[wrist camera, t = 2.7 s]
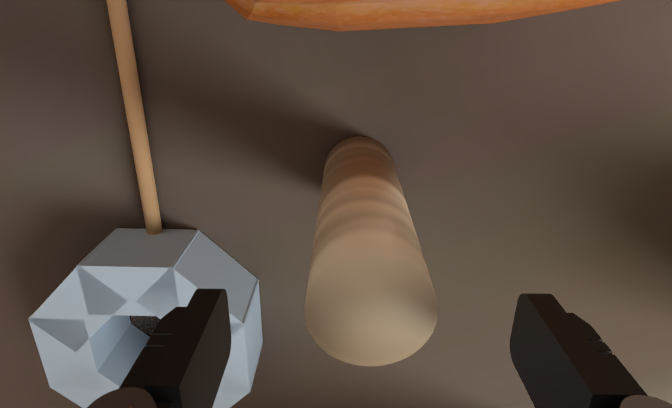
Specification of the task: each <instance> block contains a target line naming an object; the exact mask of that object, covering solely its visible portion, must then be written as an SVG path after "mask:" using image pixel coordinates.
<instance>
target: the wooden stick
mask: <svg viewBox="0 0 672 408" xmlns="http://www.w3.org/2000/svg"><path fill="white" fill-rule="evenodd" d="M106 1H107V6H108V12H109V18H110V24H111V29H112V35H113V41H114V47H115V52H116V58H117V64H118V70H119V75H120V81H121V87H122V93H123V98H124V104H125V110H126V116H127V121H128V127H129V133H130V139H131V144H132V150H133V156H134V162H135V167H136V173H137V179H138V185H139V190H140V196H141V202H142V208H143V213H144V219H145V225H146V231H147V234H148V235H158V234H160V233H162V223H161V217H160V211H159V204H158V198H157V192H156V186H155V179H154V173H153V167H152V160H151V154H150V148H149V141H148V135H147V129H146V122H145V116H144V110H143V103H142V97H141V91H140V84H139V78H138V72H137V65H136V59H135V53H134V46H133V40H132V34H131V27H130V21H129V15H128V8H127V2H126V0H106Z"/></svg>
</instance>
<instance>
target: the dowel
mask: <svg viewBox="0 0 672 408" xmlns="http://www.w3.org/2000/svg"><path fill="white" fill-rule="evenodd" d="M304 314H305V322H306V325H307V328H308V331H309V333H310V335H311V336H312V338H313V340H314V341H315V342H316V343H317V345H318V346H319V347H320V348H322V349H323V350H324V351H325V352H326V353H328V354H329V355H331V356H333V357H334V358H336V359H338V360H341V361H343V362H346V363H350V364H354V365H359V366H381V365H387V364H391V363H395V362H397V361H400V360H403V359H405V358H407V357H409V356H410V355H412V354H413V353H415V352H416V351H417V350H419V349H420V348H421V347H422V346H423V345H424V344H425V343H426V342H427V340H428V339H429V338H430V336H431V335H432V333H433V331H434V329H435V326H436V323H437V319H438V302H437V298H436V295H435V291H434V288H433V285H432V282H431V279H430V276H429V273H428V269H427V266H426V263H425V260H424V257H423V254H422V251H421V247H420V244H419V241H418V238H417V235H416V232H415V229H414V225H413V222H412V219H411V216H410V213H409V210H408V207H407V203H406V200H405V197H404V194H403V191H402V188H401V185H400V181H399V178H398V175H397V172H396V169H395V166H394V163H393V159H392V157H391V155H390V153H389V151H388V150H387V149H386V147H385V146H383V145H382V144H381V143H380V142H378V141H376V140H374V139H372V138H368V137H362V136H357V137H351V138H347V139H345V140H343V141H341V142H339V143H338V144H337V145H336V146H334V147H333V149H332V150H331V151H330V153H329V154H328V156H327V158H326V161H325V166H324V173H323V180H322V188H321V195H320V202H319V209H318V216H317V223H316V230H315V237H314V244H313V251H312V258H311V266H310V273H309V280H308V287H307V294H306V301H305V311H304Z"/></svg>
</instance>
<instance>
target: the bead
mask: <svg viewBox="0 0 672 408" xmlns="http://www.w3.org/2000/svg"><path fill="white" fill-rule="evenodd" d="M198 288H202V289H225V290H226V292H227V297H228V307H229V317H230V327H231V350H230V356H229V359H228V362H227V365H226V368H225V371H224V374H223V377H222V380H221V383H220V386H219V389H218V392H217V395H216V398H215V401H214V404H213V407H212V408H230V407H231V406H233V405H234V404H235V403H237V402H238V401H239V400H240V399H242V398H243V397H244V396H245V395H247V394H248V393H250V392H251V388H252V384H253V380H254V376H255V372H256V368H257V364H258V360H259V356H260V352H261V348H262V344H263V339H262V324H261V309H260V294H259V279H257V278H256V277H254V276H253V275H252V274H251V273H250V272H248V271H247V270H246V269H245V268H244V267H242V266H241V265H240V264H239V263H238V262H236V261H235V260H234V259H233V258H232V257H230V256H229V255H228V254H227V253H226V252H224V251H223V250H222V249H221V248H219V247H218V246H217V245H216V244H215V243H213V242H212V241H211V240H210V239H209V238H207V237H206V236H205V235H204V234H203V233H201V232H200V231H199V230H198V229H197V230H186V229H162V233H160V234H158V235H148V234H147V231H146V229H135V228H116V229H115V230H114V231H113V232H112V233H111V234H110V235H109V236H107V237H106V238H105V239H104V240H103V241H102V242H101V243H100V244H99V245H98V246H97V247H96V248H95V249H94V250H92V251H91V252H90V253H89V254H88V255H87V256H86V257H85V258H84V259H83V260H82V261H81V262H80V263H79V264H77V265H76V268H75V269H74V270H73V271H72V272H71V273H70V274H69V276H68V277H67V278H66V279H65V280H64V281H63V282H62V283H61V284H60V285H59V286H58V288H57V289H56V290H55V291H54V292H53V293H52V294H51V295H50V296H49V297H48V298H47V300H46V301H45V302H44V303H43V304H42V305H41V306H40V307H39V308H38V309H37V310H36V311H35V312H34V313H33V314H32V315H31V316H30V317H29V318H28V320H29V323H30V326H31V329H32V332H33V335H34V338H35V342H36V345H37V348H38V351H39V354H40V357H41V360H42V364H43V367H44V370H45V373H46V376H47V379H48V383H49V387H50V388H52V389H54V390H55V391H57V392H58V393H60V394H62V395H63V396H65V397H66V398H68V399H69V400H71V401H73V402H74V403H76V404H77V405H79V406H80V407H82V408H87V407H88V406H89V405H90V404H91V403H92V402H94V401H95V400H96V399H98V398H99V397H101V396H102V395H104V394H106V393H108V392H111V391H113V390H116V389H119V387H120V386H121V384H122V382H123V381H124V379H125V378H126V376H127V374H128V373H129V371H130V369H131V368H132V366H133V364H134V363H135V361H136V359H137V358H138V356H139V354H140V353H141V351H142V349H143V348H144V347H146V343H147V341H148V340H149V338H150V337H149V336H148V335H146V334H145V333H144V332H142V331H141V330H139V329H138V328H137V327H135V326H134V325H132V324H131V322H130V317H129V316H157V317H158V318H159V319H161V318H163V317H164V316H165V315H166V314H168V313H169V312H170V311H171V310H173V309H174V308H175V307H187V305H188V303H189V302H190V300H191V298H192V296H193V294H194V292H195V291H196V289H198Z"/></svg>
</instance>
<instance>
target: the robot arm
mask: <svg viewBox="0 0 672 408" xmlns="http://www.w3.org/2000/svg"><path fill="white" fill-rule="evenodd" d="M230 350H231V327H230V317H229V307H228V297H227V292H226V290H225V289H202V288H198V289H196V291H195V292H194V294H193V296H192V298H191V300H190V302H189V303H188V305H187V307H175V308H174V309H173V310H171V311H170V312H169V313H168V314H166V315H165V316H164V317H163V318H161V320H160V321H159V323H158V325H157V326H156V328H155V330H154V331H153V335H151V336H150V338H149V340H148V341H147V343H146V347H144V348H143V349H142V351H141V353H140V354H139V356H138V358H137V359H136V361H135V363H134V364H133V366H132V368H131V369H130V371H129V373H128V374H127V376H126V378H125V379H124V381H123V382H122V384H121V386H120V387H119V389H116V390H113V391H111V392H108V393H106V394H104V395H102V396H101V397H99V398H98V399H96V400H95V401H94V402H92V403H91V404H90V405H89V406H88V407H87V408H212V407H213V404H214V401H215V398H216V395H217V392H218V389H219V386H220V383H221V380H222V377H223V374H224V371H225V368H226V365H227V362H228V359H229V356H230ZM510 353H511V358H512V361H513V364H514V366H515V368H516V370H517V372H518V374H519V376H520V378H521V380H522V382H523V384H524V386H525V388H526V390H527V392H528V394H529V396H530V398H531V400H532V402H533V404H534V406H535V408H672V404H670V403H668V402H665V401H663V400H660V399H658V398H654V397H651V396H648V395H647V394H646V393H645V392H644V390H643V389H642V388H641V387H640V386H639V384H638V383H637V382H636V381H635V379H634V378H633V377H632V376H631V374H630V373H629V372H628V371H627V370H626V368H625V367H624V366H623V365H622V363H621V362H620V361H619V360H618V358H617V357H616V356H615V355H612V351H611V350H610V349H609V347H608V346H607V345H606V344H605V343H603V342H602V339H601V338H600V336H599V335H598V334H597V333H596V331H595V330H594V329H593V328H592V326H591V325H589V324H588V323H586V322H585V321H584V320H582V319H581V318H579V317H578V316H576V315H575V314H574V313H566V312H565V310H564V309H563V308H562V306H561V305H560V304H559V303H558V301H557V300H556V299H555V297H554V296H553V295H551V294H521V295H520V296H519V298H518V301H517V307H516V312H515V317H514V322H513V327H512V332H511V338H510Z"/></svg>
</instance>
